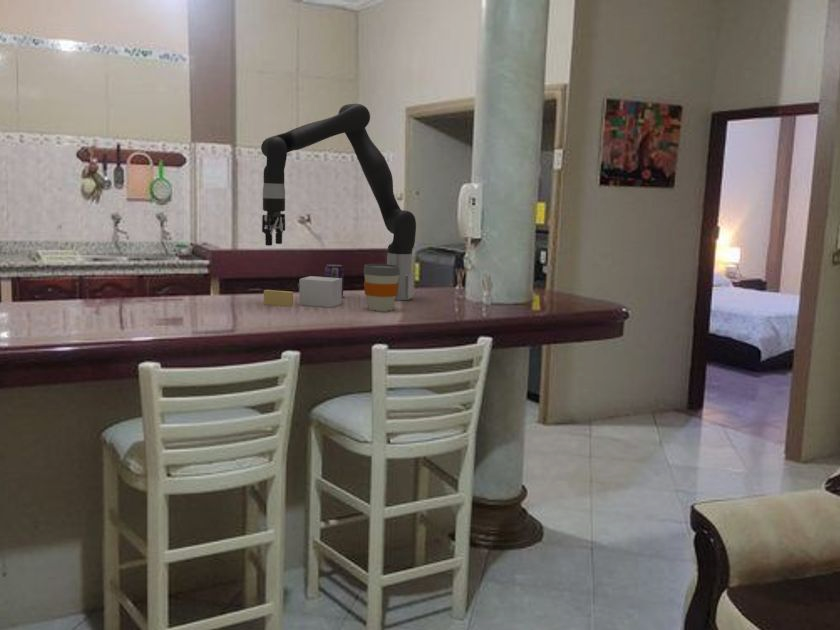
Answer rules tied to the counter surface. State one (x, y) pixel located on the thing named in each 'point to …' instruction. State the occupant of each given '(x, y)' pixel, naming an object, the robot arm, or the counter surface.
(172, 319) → the counter surface
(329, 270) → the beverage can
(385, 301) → the reusable coffee cup
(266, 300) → the yellow sponge block
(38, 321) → the counter surface
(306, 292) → the light grey block
